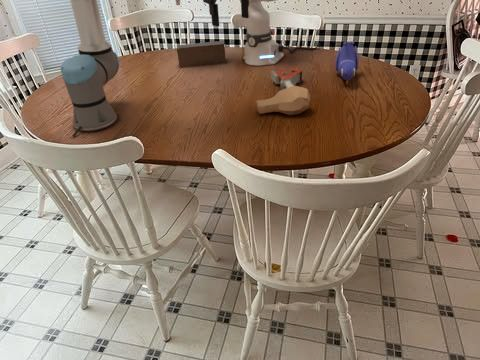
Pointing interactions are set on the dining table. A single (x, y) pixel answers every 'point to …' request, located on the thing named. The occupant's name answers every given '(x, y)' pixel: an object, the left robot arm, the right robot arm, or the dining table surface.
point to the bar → (201, 54)
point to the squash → (286, 101)
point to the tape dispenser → (287, 77)
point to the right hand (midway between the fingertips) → (178, 3)
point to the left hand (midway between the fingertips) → (230, 21)
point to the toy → (347, 61)
